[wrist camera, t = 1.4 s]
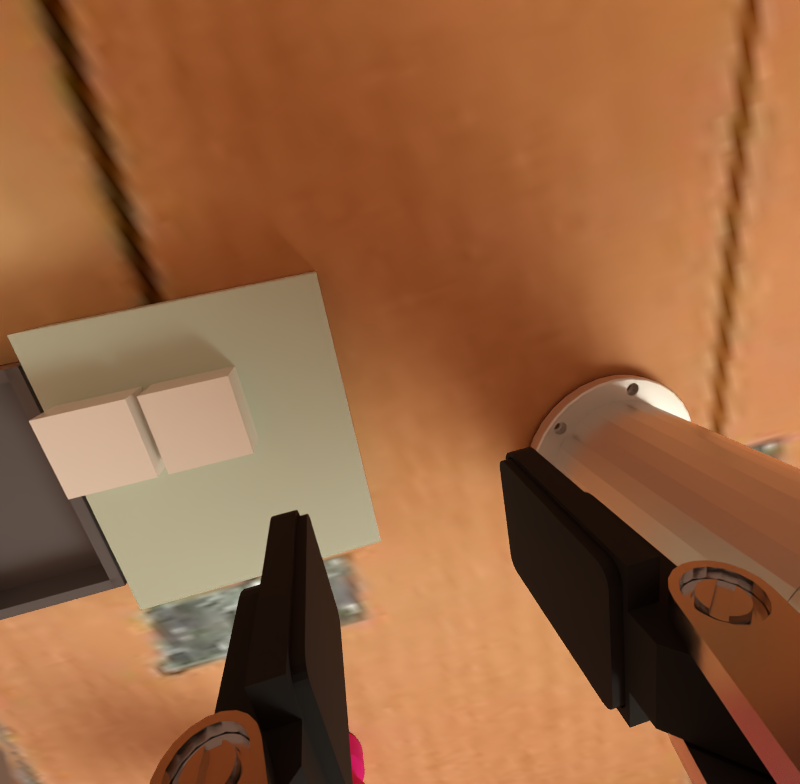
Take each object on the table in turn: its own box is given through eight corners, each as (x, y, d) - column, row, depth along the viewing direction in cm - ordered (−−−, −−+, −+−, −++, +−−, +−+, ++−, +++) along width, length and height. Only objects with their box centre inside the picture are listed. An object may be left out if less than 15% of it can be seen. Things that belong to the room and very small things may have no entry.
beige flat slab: (315, 271, 24) (316, 272, 21) (374, 514, 29) (381, 541, 26) (45, 325, 22) (6, 335, 20) (158, 573, 27) (140, 610, 25)
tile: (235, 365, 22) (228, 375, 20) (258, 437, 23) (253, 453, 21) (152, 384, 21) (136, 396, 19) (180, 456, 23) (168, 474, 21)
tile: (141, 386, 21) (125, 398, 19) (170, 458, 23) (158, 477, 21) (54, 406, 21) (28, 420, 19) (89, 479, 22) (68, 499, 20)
